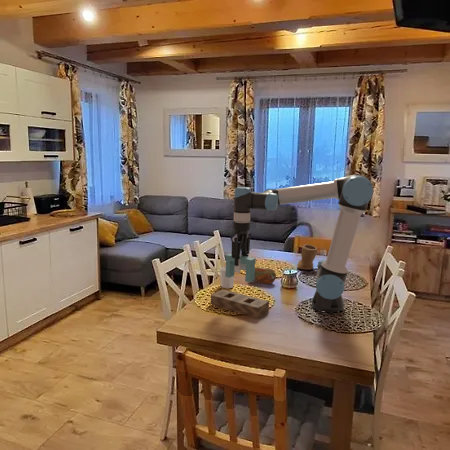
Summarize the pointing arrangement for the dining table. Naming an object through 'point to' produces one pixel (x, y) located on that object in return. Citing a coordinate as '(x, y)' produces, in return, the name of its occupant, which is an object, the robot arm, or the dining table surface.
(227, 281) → the white cup
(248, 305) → the wooden socket block
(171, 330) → the dining table surface
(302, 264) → the stone cup
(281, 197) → the robot arm
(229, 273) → the clip
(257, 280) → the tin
